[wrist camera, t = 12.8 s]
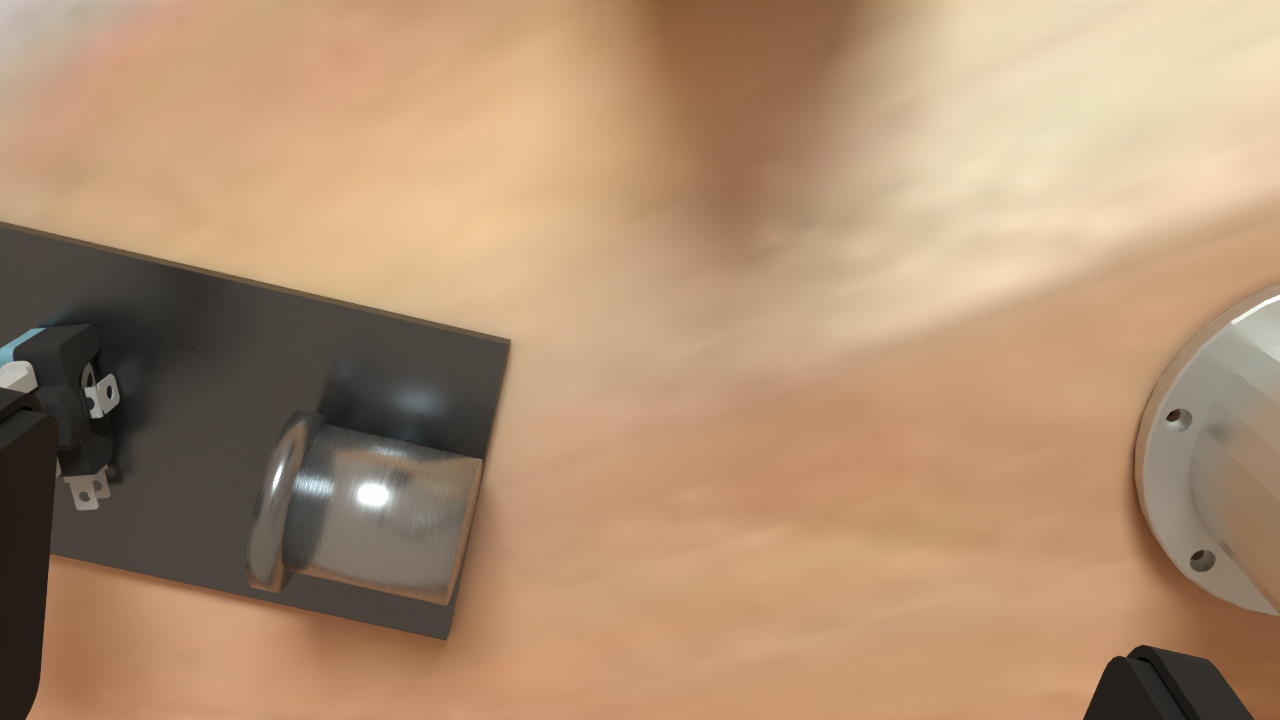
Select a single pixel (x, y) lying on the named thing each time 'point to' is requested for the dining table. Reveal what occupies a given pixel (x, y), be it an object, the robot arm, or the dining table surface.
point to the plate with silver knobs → (268, 433)
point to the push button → (68, 400)
